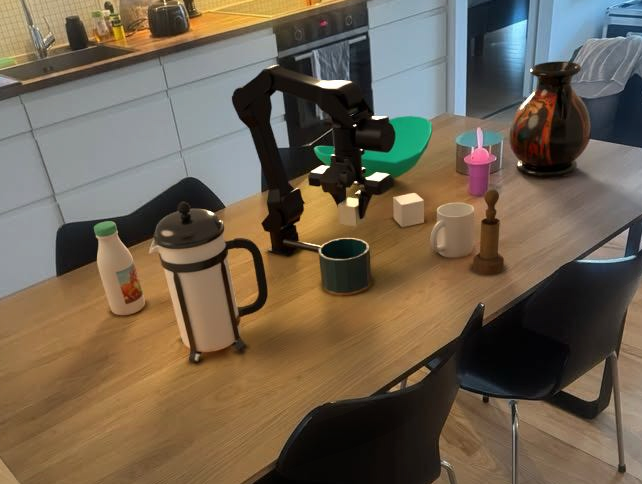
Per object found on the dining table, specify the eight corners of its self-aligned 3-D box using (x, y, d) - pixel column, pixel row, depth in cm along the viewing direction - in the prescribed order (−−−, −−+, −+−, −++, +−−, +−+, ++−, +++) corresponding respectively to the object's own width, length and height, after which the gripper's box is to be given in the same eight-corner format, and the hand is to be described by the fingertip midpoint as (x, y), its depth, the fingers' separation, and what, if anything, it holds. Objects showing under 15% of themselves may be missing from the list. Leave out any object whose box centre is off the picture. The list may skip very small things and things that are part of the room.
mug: (443, 267, 153) (444, 225, 148) (418, 257, 159) (417, 215, 153) (480, 250, 159) (482, 208, 153) (454, 240, 164) (454, 199, 159)
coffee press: (224, 373, 128) (192, 225, 111) (161, 354, 136) (122, 213, 119) (275, 328, 140) (253, 187, 122) (215, 313, 147) (187, 178, 130)
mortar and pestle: (506, 263, 152) (511, 185, 142) (499, 276, 148) (504, 197, 137) (476, 259, 155) (479, 183, 145) (469, 273, 150) (472, 195, 140)
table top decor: (389, 152, 222) (388, 110, 215) (455, 168, 204) (456, 123, 197) (296, 190, 203) (291, 145, 196) (360, 211, 185) (356, 163, 177)
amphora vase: (496, 163, 204) (502, 63, 188) (566, 153, 205) (578, 53, 189) (522, 188, 186) (531, 80, 170) (599, 177, 187) (614, 69, 171)
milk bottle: (116, 320, 150) (89, 236, 138) (108, 305, 155) (82, 224, 144) (149, 309, 152) (126, 225, 141) (140, 295, 158) (117, 214, 146)
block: (339, 223, 152) (337, 204, 150) (350, 216, 155) (348, 197, 153) (356, 226, 150) (354, 207, 147) (366, 218, 153) (365, 199, 150)
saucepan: (354, 299, 146) (351, 264, 141) (274, 279, 158) (269, 245, 153) (380, 277, 153) (379, 243, 148) (302, 259, 164) (298, 226, 160)
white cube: (424, 222, 175) (423, 200, 171) (402, 227, 174) (401, 205, 170) (415, 214, 180) (414, 192, 176) (393, 218, 179) (393, 196, 175)
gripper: (289, 155, 143) (298, 224, 152) (365, 164, 133) (369, 238, 142) (319, 139, 150) (325, 206, 159) (393, 146, 140) (396, 217, 149)
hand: (352, 217), depth 152 cm, fingers closed on block, 4 cm apart
